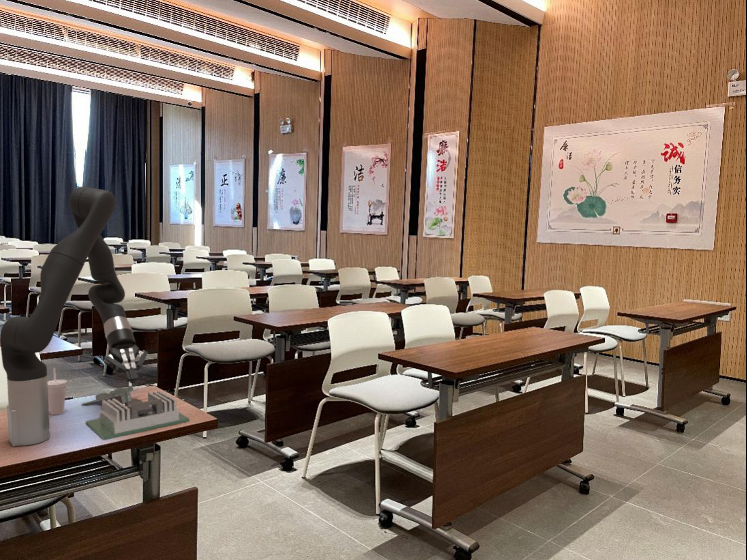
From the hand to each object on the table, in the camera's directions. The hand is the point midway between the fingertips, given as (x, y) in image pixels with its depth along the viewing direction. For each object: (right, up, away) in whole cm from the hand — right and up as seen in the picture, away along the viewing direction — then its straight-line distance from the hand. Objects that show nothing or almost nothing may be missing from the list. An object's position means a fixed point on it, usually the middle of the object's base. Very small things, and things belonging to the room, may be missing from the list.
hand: (133, 381), depth 174 cm
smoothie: (-27, -11, +8) cm, 30 cm away
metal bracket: (-15, -11, +20) cm, 27 cm away
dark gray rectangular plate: (-1, -7, +2) cm, 7 cm away
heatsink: (+2, -12, -1) cm, 12 cm away
